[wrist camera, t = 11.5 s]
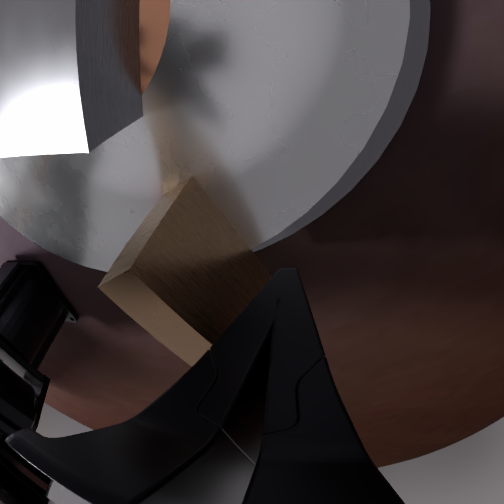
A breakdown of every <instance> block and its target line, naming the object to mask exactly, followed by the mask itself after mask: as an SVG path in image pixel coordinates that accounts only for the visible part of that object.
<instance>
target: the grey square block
mask: <svg viewBox="0 0 504 504" xmlns="http://www.w3.org/2000/svg"><path fill="white" fill-rule="evenodd" d="M139 7H140V0H0V158H3V157H14V156H26V155H41V154H62V153H89V152H91V151H92V150H93V149H95V148H96V147H97V146H99V145H100V144H102V143H103V142H105V141H106V140H107V139H109V138H110V137H112V136H113V135H115V134H116V133H118V132H119V131H121V130H122V129H124V128H125V127H127V126H129V125H130V124H132V123H133V122H135V121H136V120H138V119H140V118H141V117H143V105H142V93H141V74H140V43H139Z"/></svg>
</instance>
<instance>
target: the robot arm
mask: <svg viewBox="0 0 504 504" xmlns="http://www.w3.org/2000/svg"><path fill="white" fill-rule="evenodd" d="M78 319H79V317H78V315H77V314H76V313H75V312H74V310H73V309H72V308H71V306H70V305H69V304H68V302H67V301H66V299H65V298H64V297H63V295H62V294H61V293H60V291H59V290H58V288H57V287H56V285H55V284H54V283H53V281H52V280H51V278H50V277H49V275H48V274H47V272H46V271H45V269H44V268H43V266H42V265H41V264H40V263H39V262H37V261H28V262H9V263H3V264H2V266H1V268H0V359H2V360H3V361H4V362H5V363H6V364H7V365H8V366H10V367H11V368H12V369H13V370H14V371H15V372H17V373H18V374H19V375H20V376H21V377H23V379H22V378H21V377H20V376H19V375H17V374H16V373H15V372H14V371H13V370H11V369H10V368H9V367H8V366H7V365H6V364H4V363H3V362H2V361H1V360H0V504H405V503H404V502H403V500H402V499H401V498H400V497H399V495H398V494H397V493H396V492H395V490H394V489H393V488H392V486H391V485H390V484H389V483H388V481H387V480H386V479H385V478H384V476H383V475H382V474H381V472H380V471H379V470H378V468H377V467H376V466H375V464H374V463H373V462H372V460H371V458H370V457H369V455H368V453H367V452H366V450H365V448H364V446H363V444H362V442H361V440H360V438H359V436H358V434H357V432H356V430H355V427H354V425H353V423H352V421H351V419H350V417H349V415H348V413H347V411H346V408H345V406H344V404H343V402H342V400H341V398H340V395H339V393H338V391H337V388H336V386H335V383H334V380H333V377H332V375H331V372H330V369H329V365H328V362H327V359H326V357H325V353H324V349H323V346H322V343H321V340H320V337H319V334H318V330H317V327H316V324H315V321H314V318H313V315H312V312H311V309H310V305H309V302H308V299H307V296H306V293H305V290H304V287H303V284H302V281H301V278H300V275H299V272H298V270H297V268H279V269H278V270H277V271H276V273H275V274H274V275H273V276H272V277H271V278H270V280H269V281H268V282H267V283H266V284H265V285H264V287H263V288H262V289H261V290H260V291H259V292H258V294H257V295H256V296H255V297H254V298H253V299H252V300H251V302H250V303H249V304H248V305H247V306H246V307H245V309H244V310H243V311H242V312H241V313H240V314H239V315H238V317H237V318H236V319H235V320H234V321H233V322H232V323H231V325H230V326H229V327H228V328H227V329H226V330H225V331H224V332H223V334H222V335H221V336H220V337H219V338H218V339H217V340H216V341H215V343H214V344H213V345H212V346H211V347H210V350H207V351H206V352H205V354H204V355H203V356H202V357H201V358H200V359H199V360H198V361H197V362H196V363H195V364H194V365H193V366H192V367H191V369H190V370H189V371H188V372H187V373H185V374H184V375H183V376H182V377H181V378H180V379H179V380H178V381H177V382H176V383H175V384H173V385H172V386H171V387H170V388H169V389H168V390H167V391H165V392H164V393H163V394H162V395H161V396H160V397H158V398H157V399H156V400H155V401H154V402H152V403H151V404H150V405H149V406H148V407H147V408H145V409H144V410H143V411H142V412H140V413H139V414H138V415H136V416H135V417H133V418H131V419H129V420H127V421H125V422H123V423H120V424H116V425H113V426H109V427H105V428H101V429H97V430H93V431H89V432H85V433H80V434H76V435H72V436H66V437H60V438H48V437H44V436H42V435H40V434H39V433H37V432H36V429H37V427H38V423H39V419H40V415H41V411H42V407H43V404H44V400H45V397H46V393H47V390H48V386H49V383H50V379H49V378H48V377H47V376H45V375H43V374H41V373H40V372H39V371H38V368H39V366H40V364H41V362H42V360H43V359H44V357H45V355H46V353H47V351H48V349H49V348H50V346H51V344H52V342H53V341H54V339H55V337H56V335H57V334H58V332H59V330H60V328H61V327H62V325H63V323H64V322H65V321H66V322H73V323H76V322H77V321H78Z"/></svg>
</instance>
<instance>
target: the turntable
mask: <svg viewBox="0 0 504 504" xmlns="http://www.w3.org/2000/svg"><path fill="white" fill-rule="evenodd" d="M409 21H410V0H140V7H139V43H140V74H141V93H142V105H143V117H141V118H140V119H138V120H136V121H135V122H133V123H132V124H130V125H129V126H127V127H125V128H124V129H122V130H121V131H119V132H118V133H116V134H115V135H113V136H112V137H110V138H109V139H107V140H106V141H105V142H103V143H102V144H100V145H99V146H97V147H96V148H95V149H93V150H92V151H91V152H89V153H62V154H41V155H26V156H14V157H3V158H0V216H1V217H2V218H3V219H4V220H5V221H6V222H8V223H9V224H10V225H11V226H12V227H13V228H15V229H16V230H17V231H18V232H20V233H21V234H22V235H24V236H25V237H26V238H28V239H29V240H31V241H32V242H34V243H35V244H37V245H39V246H40V247H42V248H43V249H45V250H47V251H49V252H51V253H53V254H55V255H57V256H59V257H61V258H63V259H66V260H68V261H71V262H74V263H77V264H79V265H82V266H85V267H89V268H93V269H97V270H101V271H105V272H107V274H106V275H105V277H104V278H103V280H102V281H101V283H100V284H99V286H98V288H99V289H100V290H101V291H102V292H103V293H104V294H106V295H107V296H108V297H109V298H110V299H111V300H112V301H113V302H114V303H115V304H116V305H118V306H119V307H120V308H121V309H122V310H123V311H124V312H125V313H126V314H128V315H129V316H130V317H131V318H132V319H133V320H134V321H136V322H137V323H138V324H139V325H140V326H142V327H143V328H144V329H145V330H146V331H147V332H149V333H150V334H151V335H152V336H153V337H155V338H156V339H157V340H158V341H160V342H161V343H162V344H163V345H165V346H166V347H167V348H168V349H170V350H171V351H172V352H173V353H175V354H176V355H177V356H179V357H180V358H181V359H182V360H184V361H185V362H186V363H188V364H189V365H190V366H193V365H194V364H195V363H196V362H197V361H198V360H199V359H200V358H201V357H202V356H203V355H204V354H205V352H206V351H207V350H210V347H211V346H212V345H213V344H214V343H215V341H216V340H217V339H218V338H219V337H220V336H221V335H222V334H223V332H224V331H225V330H226V329H227V328H228V327H229V326H230V325H231V323H232V322H233V321H234V320H235V319H236V318H237V317H238V315H239V314H240V313H241V312H242V311H243V310H244V309H245V307H246V306H247V305H248V304H249V303H250V302H251V300H252V299H253V298H254V297H255V296H256V295H257V294H258V292H259V291H260V290H261V289H262V288H263V287H264V285H265V284H266V283H267V282H268V281H269V280H270V278H271V277H272V275H271V274H270V272H269V271H268V270H267V269H266V267H265V266H264V265H263V264H262V262H261V261H260V260H259V259H258V257H257V256H256V255H255V254H254V252H253V251H252V250H251V249H252V248H254V247H256V246H258V245H260V244H261V243H263V242H265V241H267V240H268V239H270V238H272V237H274V236H276V235H277V234H278V233H280V232H281V231H282V230H284V229H285V228H286V227H288V226H289V225H291V224H292V223H293V222H295V221H296V220H297V219H299V218H300V217H301V216H303V215H304V214H305V213H307V212H308V211H309V210H310V209H311V208H312V207H313V206H314V205H315V204H316V203H317V202H318V201H319V200H320V199H321V198H322V197H323V196H324V195H325V194H326V193H327V192H328V191H329V190H330V189H331V188H332V187H333V186H334V185H335V184H336V183H337V182H338V181H339V179H340V178H341V177H342V176H343V174H344V173H345V172H346V170H347V169H348V168H349V167H350V165H351V164H352V163H353V161H354V160H355V159H356V157H357V156H358V155H359V154H360V152H361V151H362V150H363V148H364V147H365V145H366V143H367V141H368V140H369V138H370V136H371V134H372V133H373V131H374V129H375V127H376V125H377V124H378V122H379V120H380V118H381V116H382V115H383V113H384V111H385V109H386V107H387V104H388V102H389V99H390V96H391V94H392V91H393V88H394V86H395V83H396V80H397V77H398V74H399V72H400V69H401V66H402V62H403V57H404V52H405V46H406V40H407V34H408V28H409Z"/></svg>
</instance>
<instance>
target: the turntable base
mask: <svg viewBox="0 0 504 504" xmlns="http://www.w3.org/2000/svg"><path fill="white" fill-rule="evenodd" d="M430 10H431V8H430V0H410V21H409V28H408V34H407V40H406V46H405V52H404V57H403V62H402V66H401V69H400V72H399V74H398V77H397V80H396V83H395V86H394V88H393V91H392V94H391V96H390V99H389V102H388V104H387V107H386V109H385V111H384V113H383V115H382V116H381V118H380V120H379V122H378V124H377V125H376V127H375V129H374V131H373V133H372V134H371V136H370V138H369V140H368V141H367V143H366V145H365V147H364V148H363V150H362V151H361V152H360V154H359V155H358V156H357V157H356V159H355V160H354V161H353V163H352V164H351V165H350V167H349V168H348V169H347V170H346V172H345V173H344V174H343V176H342V177H341V178H340V179H339V181H338V182H337V183H336V184H335V185H334V186H333V187H332V188H331V189H330V190H329V191H328V192H327V193H326V194H325V195H324V196H323V197H322V198H321V199H320V200H319V201H318V202H317V203H316V204H315V205H314V206H313V207H312V208H311V209H310V210H309V211H308V212H307V213H305V214H304V215H303V216H301V217H300V218H299V219H297V220H296V221H295V222H293V223H292V224H291V225H289V226H288V227H286V228H285V229H284V230H282V231H281V232H280V233H278V234H277V235H276V236H274V237H272V238H270V239H268V240H267V241H265V242H263V243H261V244H260V245H258V246H256V247H254V248H252V249H251V250H252V251H253V252H255V251H258V250H261V249H263V248H265V247H267V246H269V245H271V244H273V243H275V242H278V241H280V240H282V239H284V238H286V237H288V236H290V235H292V234H294V233H295V232H297V231H298V230H300V229H301V228H303V227H304V226H306V225H308V224H309V223H311V222H312V221H314V220H315V219H317V218H318V217H320V216H321V215H323V214H324V213H325V212H326V211H327V210H329V209H330V208H331V207H332V206H333V205H335V204H336V203H337V202H338V201H339V200H340V199H342V198H343V197H344V196H345V195H346V194H347V193H349V192H350V191H351V190H352V189H353V188H354V187H355V185H356V184H357V183H358V182H359V181H360V180H361V179H362V178H363V177H364V175H365V174H366V173H367V172H368V171H369V170H370V169H371V168H372V166H373V165H374V164H375V163H376V162H377V161H378V159H379V158H380V156H381V155H382V153H383V152H384V150H385V149H386V147H387V146H388V144H389V143H390V141H391V140H392V138H393V137H394V135H395V134H396V132H397V131H398V129H399V128H400V126H401V124H402V121H403V119H404V117H405V115H406V113H407V111H408V108H409V106H410V104H411V102H412V100H413V97H414V95H415V93H416V91H417V88H418V84H419V81H420V77H421V74H422V70H423V66H424V62H425V58H426V54H427V50H428V41H429V28H430Z"/></svg>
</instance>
